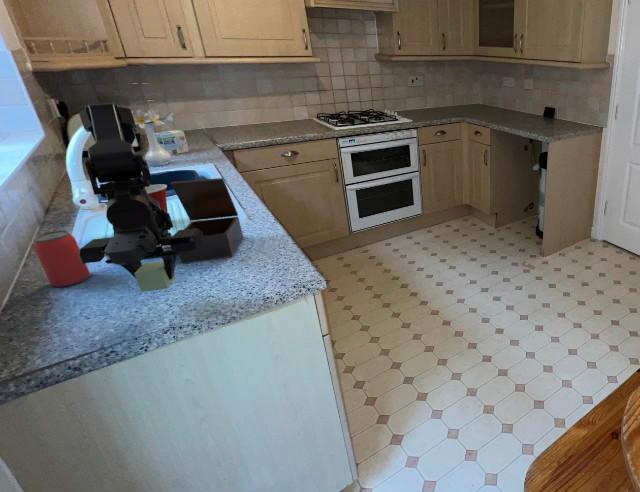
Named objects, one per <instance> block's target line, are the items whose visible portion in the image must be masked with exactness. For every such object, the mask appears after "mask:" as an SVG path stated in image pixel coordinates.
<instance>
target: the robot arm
mask: <svg viewBox="0 0 640 492" xmlns="http://www.w3.org/2000/svg"><path fill="white" fill-rule="evenodd" d="M131 111H132V110H131V108H128V107H123V106H119V105H118V103H113V102H109V103H90V104H88V105H84V109H82V110H79V111H78V115H79V118H80V121H81V124H82V127H83V129H84V130H85V131H86V133H90V134H91V136H92V138H93V140H94V142H95V143H94V144H92V145H91V146H89V147H88V148H87V157H88V159H84V163H85V164H84V165H85V167H86V168H85V169H86V171H87V174H88V179H89V181H90V185H91V187H92V188H91V189H92V192H93V195H95V196H96V195H102V194H105V197H106V200H107V205H106V214H105V216H106V220H107V222H108V223H109V224H110V225H111V226H112V230H113V236H111V237H101V238H93V239H92V240H90V241H89V242H88V243H86V244H85V245H84V246H82V247H81V248H79V249H80V250H79V252H78V257H79V259H80V261H81V263H83V264H84V263H86V264H91V263H100V262H102V261H103V259H104V258H106V260H105V261H104V262H105V264H107V265H109V264H111V265H113V264H114V265H117V266H120V267H121V268H123V269H124V270H126V271H127V272H128V273H129V274H130V275H131V276H133V278H135V279H136V277H135V274H134V273H135V272H136V271H137V270H138V269H139V268H140V267H141V266H142V265H143V263H142V260H144V259H145V258H153V257H159V258H160V259H161V260H162V261H163V262H164V265H165V269H166V273H167V276H168V278H169V279H170V280H171V279H172V278H173V276H174V274H175V271H176V267H177V266H176V265H177V261H178V257H179V253H180V252H183V251H191V250H194V249H197V247H198V246H199V245H200V244H201V242H202V241H203V240H204V236H203V232H202V231H201V230H199V229H198V228H194V229H185V228H184V229H185V230H184V229H178V230H177V231H176V232H175V233H174V235H172V233H171V232H169V231H171V229H172V228H174V224H173V221H172V218H171V214H170V212H166V211H165V210H164V209H160V206H159V203H158V201H157V200H155V199H154V198H152V197H150V196H149V195H148V194H147V191H146V189H145V187H149V186H150V185H151V184H150V181H153V178H152V175H151V171H150V168H149V165H148V162H147V161H146V159H145V157H143V156H142V154H141V153H136V152H135V149H134V146H133V144H134V142H135V140H136V134H135V130H134V129H137V124H135V121H134V117H133V115H132V112H131ZM98 183H99V184H98ZM165 222H166V223H165Z"/></svg>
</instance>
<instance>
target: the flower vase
mask: <svg viewBox="0 0 640 492" xmlns="http://www.w3.org/2000/svg"><path fill="white" fill-rule="evenodd" d="M131 112H132V115H133V117H134V121H135V124H136V125H138V126H139V128H140V129H144V132H145V134H146V137H147V141H148V151H147V152H146V153H145V155H144V158H145V159H146V161H147V163H149V164H151V165H150V166H153V167H160V166H165V165H168V164H169V161H170V160H171V158H172V155H170V154H169V153H168V152H167V151H165V150H164V149H162V148H161V146H160V145H159V143H158V141H157V138H156V135H155V133H156V132H155V125H157V126H159V127H160V126H161V125H165V122H166V123H167V124H168V125H169V126H170V127H171V129H172V130H173V128H174V127H173V122H174V118H173V114H174V112H171V113H170V115H169V116H168V117H167V116H163V115H162V111H161V110H159V109H157V110H155V111H153V110H152V109H148V110H147V113H146V112H145V111H142V110H140V109H137V110H136V114H135V113H134V111H133V110H131ZM164 121H165V122H164Z"/></svg>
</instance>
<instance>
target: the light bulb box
mask: <svg viewBox="0 0 640 492" xmlns="http://www.w3.org/2000/svg"><path fill="white" fill-rule="evenodd" d="M155 135H156V138H157V141H158V143H159V145H160V146H161V148H162V149H164V150H165V151H167V152H168V153H169V154H170V155H171V156H173V155H179V154H184V153H189V152H190V149H189V146H188V142H187V138H186V135H185V131H183V130H177V129H174V130H173V129H172V130H167V131H160V132H155Z"/></svg>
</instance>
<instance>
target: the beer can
mask: <svg viewBox="0 0 640 492" xmlns="http://www.w3.org/2000/svg"><path fill="white" fill-rule="evenodd" d="M33 241H34V242H33V250H34V252H35V254H36V256H37V258H38V260H39V262H40V265H41V267H42V269H43V271H44V273H45V275H46V278H47V279H48V282H49V284H50V285H51V286H53V287H57V288H58V287H59V288H61V287H68V286H72V285H76V284H79V283H81V282H84V281H85V280H87V279H88V278H89V276H90V275H91V272H90V270H89V268H88V265H87V263H84V264H83V263H81V261H80V259H79V257H78V252H79V250H80V249H81V248H80V247H79V245H78V242H77V240H76V238H75V237H74V236H73V235H72V234H71V233H70V230H69V231H68V230H63V229H62V230H54V231H53V230H52V231H49V232H44V233H42V234H39V235H37V236H35V237H34V238H33Z"/></svg>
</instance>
